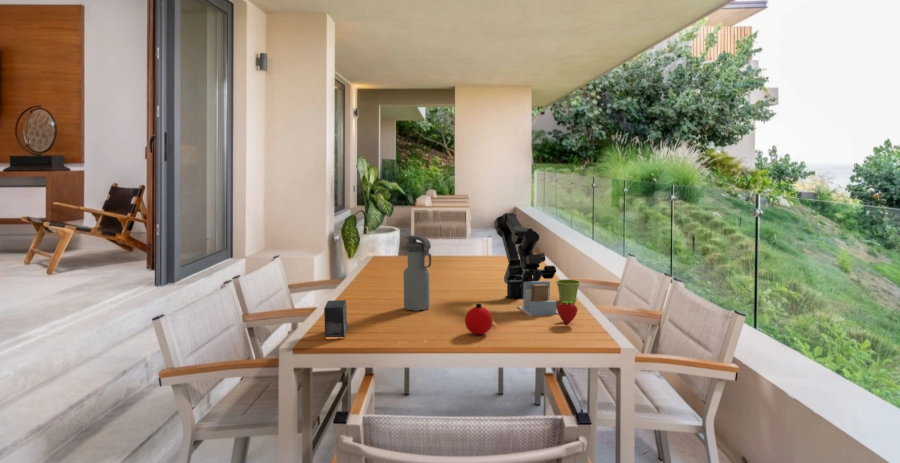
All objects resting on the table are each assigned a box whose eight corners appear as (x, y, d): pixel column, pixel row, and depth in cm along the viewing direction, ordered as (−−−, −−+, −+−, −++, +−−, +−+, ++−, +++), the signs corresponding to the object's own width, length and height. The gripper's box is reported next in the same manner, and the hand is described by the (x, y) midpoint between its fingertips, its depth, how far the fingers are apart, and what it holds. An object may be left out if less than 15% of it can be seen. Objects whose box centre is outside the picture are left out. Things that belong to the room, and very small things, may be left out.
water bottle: (434, 307, 238) (434, 235, 235) (423, 312, 229) (422, 238, 227) (411, 304, 243) (410, 234, 240) (399, 310, 234) (398, 236, 231)
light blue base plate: (517, 309, 234) (517, 305, 234) (545, 307, 236) (545, 304, 236) (529, 317, 221) (529, 314, 220) (559, 316, 223) (559, 312, 223)
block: (531, 310, 228) (531, 284, 227) (544, 310, 229) (544, 283, 228) (534, 313, 224) (535, 286, 223) (547, 312, 225) (548, 285, 224)
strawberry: (564, 321, 215) (564, 293, 214) (581, 325, 210) (581, 296, 209) (552, 324, 212) (553, 295, 211) (569, 328, 206) (570, 299, 205)
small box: (327, 331, 204) (327, 300, 203) (347, 330, 205) (347, 299, 204) (324, 339, 194) (323, 307, 193) (345, 339, 194) (344, 306, 193)
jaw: (523, 308, 230) (523, 281, 229) (547, 306, 232) (548, 280, 231) (525, 309, 228) (525, 282, 227) (549, 308, 229) (550, 281, 228)
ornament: (494, 337, 195) (494, 306, 194) (466, 338, 195) (466, 307, 194) (490, 330, 204) (490, 300, 203) (463, 330, 204) (463, 301, 203)
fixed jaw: (528, 313, 224) (528, 301, 223) (553, 312, 226) (553, 300, 225) (530, 315, 222) (530, 302, 221) (556, 313, 223) (556, 301, 223)
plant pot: (579, 306, 239) (580, 284, 238) (555, 305, 241) (555, 283, 240) (579, 300, 248) (580, 279, 248) (556, 300, 250) (556, 279, 249)
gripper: (508, 246, 231) (516, 281, 222) (555, 244, 235) (565, 279, 226) (502, 262, 240) (509, 297, 231) (547, 260, 244) (556, 295, 235)
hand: (535, 292), depth 230 cm, fingers closed, pressing on jaw
